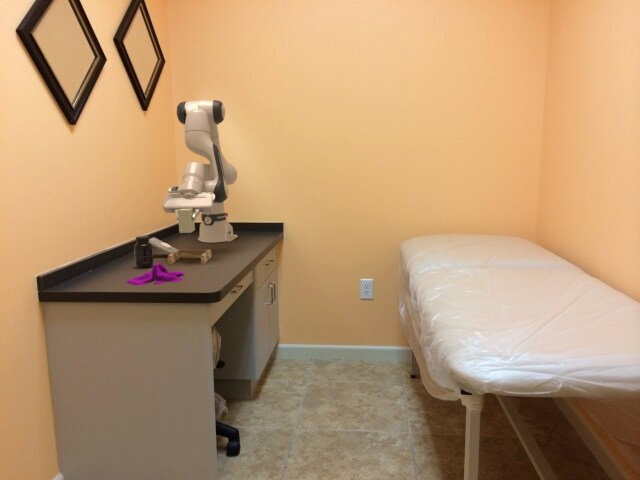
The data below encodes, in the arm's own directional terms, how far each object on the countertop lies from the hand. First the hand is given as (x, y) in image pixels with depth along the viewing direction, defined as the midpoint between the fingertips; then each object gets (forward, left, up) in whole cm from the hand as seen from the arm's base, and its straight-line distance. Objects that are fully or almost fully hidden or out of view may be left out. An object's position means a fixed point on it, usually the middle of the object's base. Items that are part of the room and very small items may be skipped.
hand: (186, 219), depth 199 cm
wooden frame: (-3, -1, -18) cm, 18 cm away
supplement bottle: (+10, -13, -18) cm, 25 cm away
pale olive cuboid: (-1, 0, -5) cm, 5 cm away
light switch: (-10, -17, -18) cm, 27 cm away
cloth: (+27, +5, -19) cm, 33 cm away
